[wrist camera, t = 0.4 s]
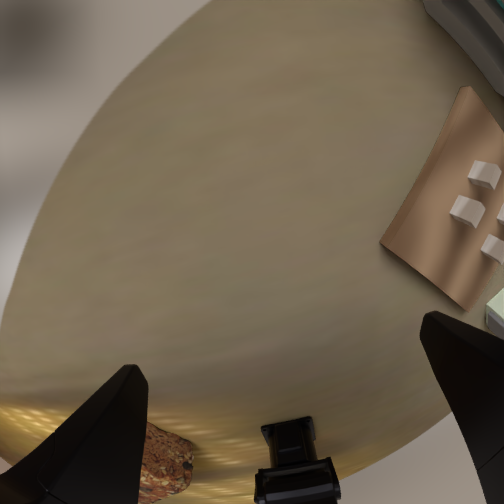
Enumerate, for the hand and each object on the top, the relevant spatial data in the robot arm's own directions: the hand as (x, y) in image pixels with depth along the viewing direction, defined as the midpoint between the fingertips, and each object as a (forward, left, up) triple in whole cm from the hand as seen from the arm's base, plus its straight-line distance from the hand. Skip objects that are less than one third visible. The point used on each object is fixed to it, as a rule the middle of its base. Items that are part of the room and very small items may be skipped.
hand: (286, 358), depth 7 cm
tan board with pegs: (-3, -22, -15) cm, 26 cm away
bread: (-29, +25, -15) cm, 41 cm away
